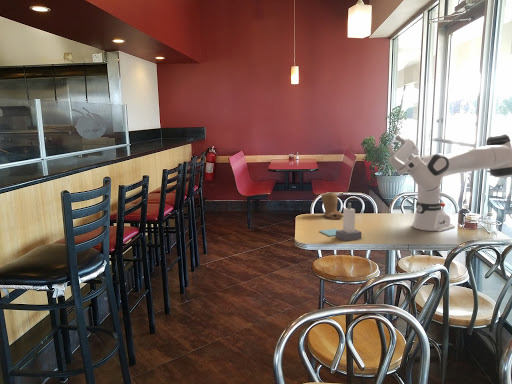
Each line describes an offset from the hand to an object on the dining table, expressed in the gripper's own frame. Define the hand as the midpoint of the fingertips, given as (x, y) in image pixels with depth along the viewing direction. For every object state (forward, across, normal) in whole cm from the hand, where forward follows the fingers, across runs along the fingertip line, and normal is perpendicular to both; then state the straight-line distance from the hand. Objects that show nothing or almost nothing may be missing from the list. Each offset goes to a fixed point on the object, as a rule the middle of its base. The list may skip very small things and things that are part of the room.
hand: (392, 141), depth 193 cm
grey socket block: (-24, +29, +36) cm, 52 cm away
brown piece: (-17, -1, +70) cm, 72 cm away
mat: (-18, +27, +46) cm, 56 cm away
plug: (-24, +29, +36) cm, 52 cm away
